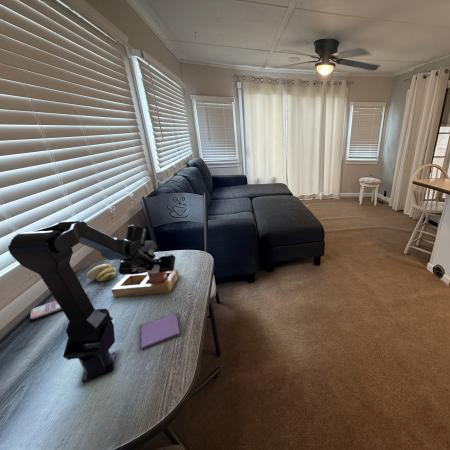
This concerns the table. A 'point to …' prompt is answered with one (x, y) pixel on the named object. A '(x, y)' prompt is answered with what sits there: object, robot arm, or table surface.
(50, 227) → the robot arm
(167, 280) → the bottle rack
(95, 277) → the yellow banana bunch
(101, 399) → the table surface
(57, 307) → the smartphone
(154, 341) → the mat
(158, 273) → the pill bottle
